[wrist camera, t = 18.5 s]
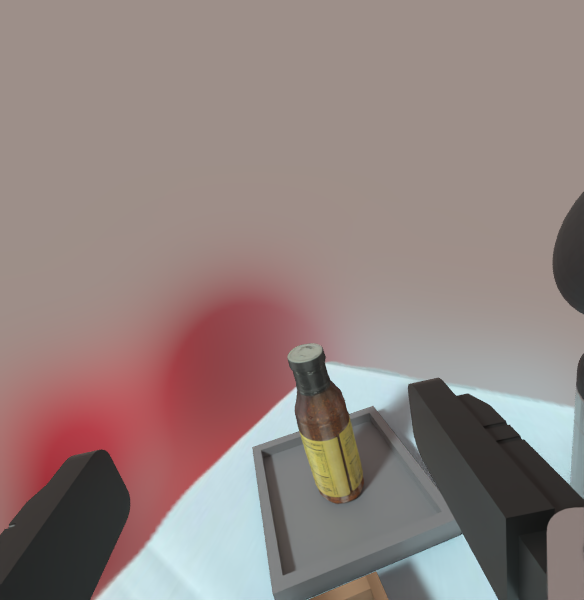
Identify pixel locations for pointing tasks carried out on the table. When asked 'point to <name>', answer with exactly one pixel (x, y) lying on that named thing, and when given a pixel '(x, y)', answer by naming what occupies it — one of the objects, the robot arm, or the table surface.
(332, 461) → the sauce bottle
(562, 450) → the table surface
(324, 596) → the condiment box
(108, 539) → the robot arm
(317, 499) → the serving tray
